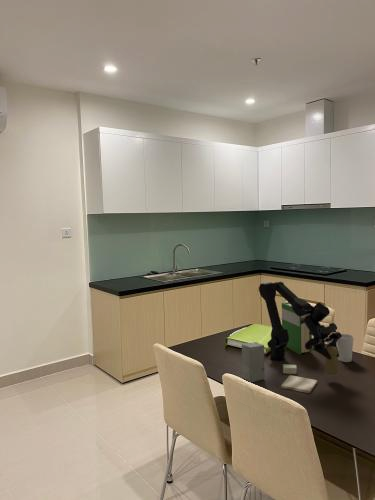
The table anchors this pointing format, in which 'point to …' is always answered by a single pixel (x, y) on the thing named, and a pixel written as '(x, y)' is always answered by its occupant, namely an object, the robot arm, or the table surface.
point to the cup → (345, 347)
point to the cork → (332, 361)
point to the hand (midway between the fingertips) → (334, 357)
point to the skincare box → (253, 362)
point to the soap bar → (289, 369)
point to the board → (299, 384)
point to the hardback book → (295, 329)
